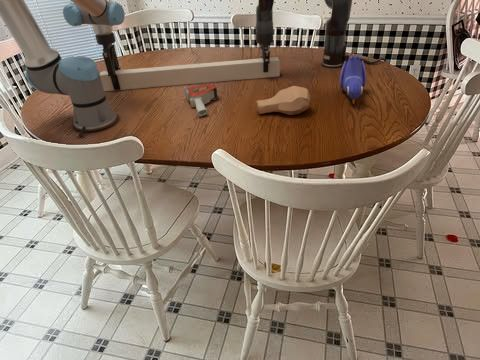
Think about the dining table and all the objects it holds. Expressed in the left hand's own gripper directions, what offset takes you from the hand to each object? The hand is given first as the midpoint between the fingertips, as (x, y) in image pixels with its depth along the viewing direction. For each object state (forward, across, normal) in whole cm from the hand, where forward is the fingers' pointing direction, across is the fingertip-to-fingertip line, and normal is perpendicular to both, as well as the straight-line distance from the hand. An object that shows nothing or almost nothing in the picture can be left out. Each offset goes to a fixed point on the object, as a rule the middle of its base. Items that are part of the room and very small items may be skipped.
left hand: (118, 86), depth 161 cm
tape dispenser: (+1, -26, -37) cm, 45 cm away
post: (+1, 0, -34) cm, 34 cm away
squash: (+1, -39, -68) cm, 79 cm away
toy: (+1, -31, -97) cm, 102 cm away
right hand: (-2, 0, -67) cm, 67 cm away
